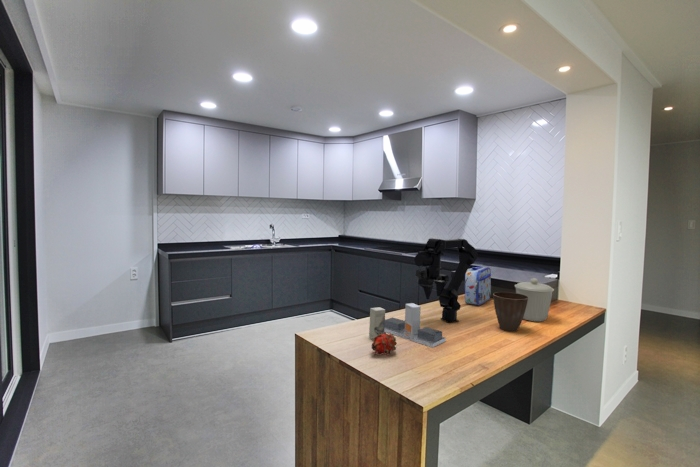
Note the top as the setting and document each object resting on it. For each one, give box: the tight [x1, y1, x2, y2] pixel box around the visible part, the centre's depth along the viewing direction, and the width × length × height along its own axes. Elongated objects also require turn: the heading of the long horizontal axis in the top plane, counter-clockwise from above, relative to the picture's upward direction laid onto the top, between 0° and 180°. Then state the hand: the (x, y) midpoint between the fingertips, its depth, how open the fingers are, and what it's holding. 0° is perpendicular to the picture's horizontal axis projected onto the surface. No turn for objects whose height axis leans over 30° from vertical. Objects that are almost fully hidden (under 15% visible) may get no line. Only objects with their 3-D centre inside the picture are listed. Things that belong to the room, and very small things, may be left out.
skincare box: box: [404, 302, 421, 335], centre depth 155 cm, size 6×4×12 cm
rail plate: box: [384, 317, 447, 348], centre depth 155 cm, size 10×27×4 cm, turn 45°
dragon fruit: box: [370, 332, 398, 356], centre depth 135 cm, size 8×8×12 cm
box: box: [368, 307, 386, 341], centre depth 150 cm, size 5×4×13 cm
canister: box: [514, 277, 555, 322], centre depth 183 cm, size 18×18×21 cm
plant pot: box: [492, 291, 528, 333], centre depth 166 cm, size 15×15×16 cm
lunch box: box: [464, 266, 492, 306], centre depth 215 cm, size 28×10×22 cm, turn 145°
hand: (433, 297), depth 171 cm, fingers open, 9 cm apart
